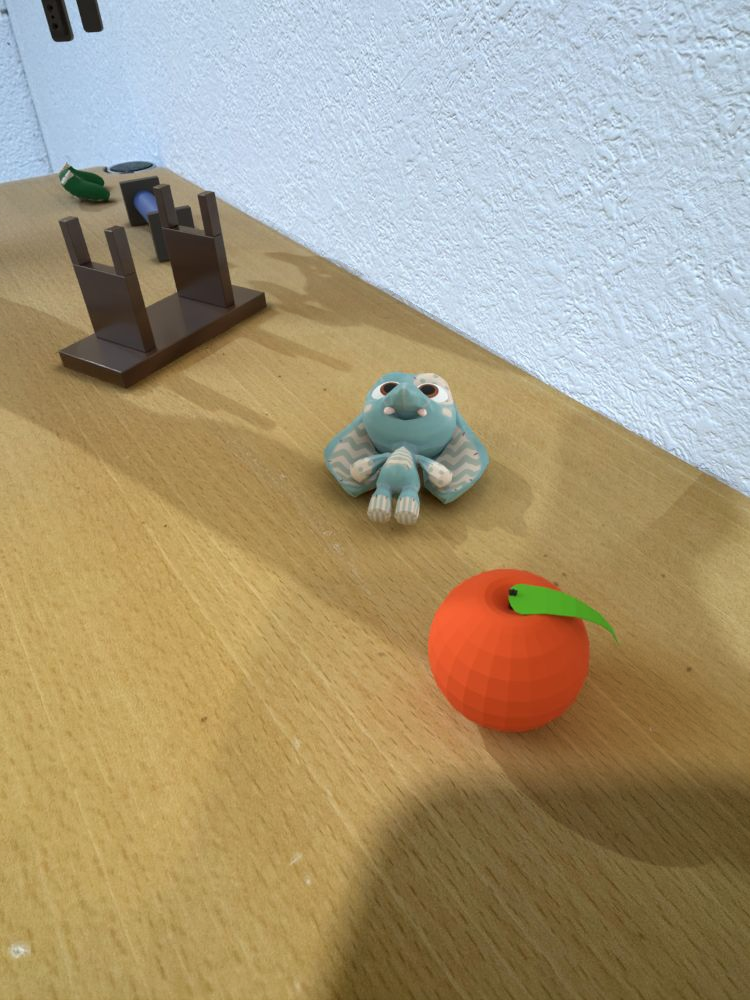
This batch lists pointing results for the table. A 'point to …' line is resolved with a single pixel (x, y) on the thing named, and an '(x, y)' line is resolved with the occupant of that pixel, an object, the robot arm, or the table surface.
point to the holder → (167, 323)
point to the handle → (150, 211)
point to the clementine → (511, 649)
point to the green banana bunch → (83, 184)
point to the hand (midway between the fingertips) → (79, 36)
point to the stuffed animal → (406, 447)
